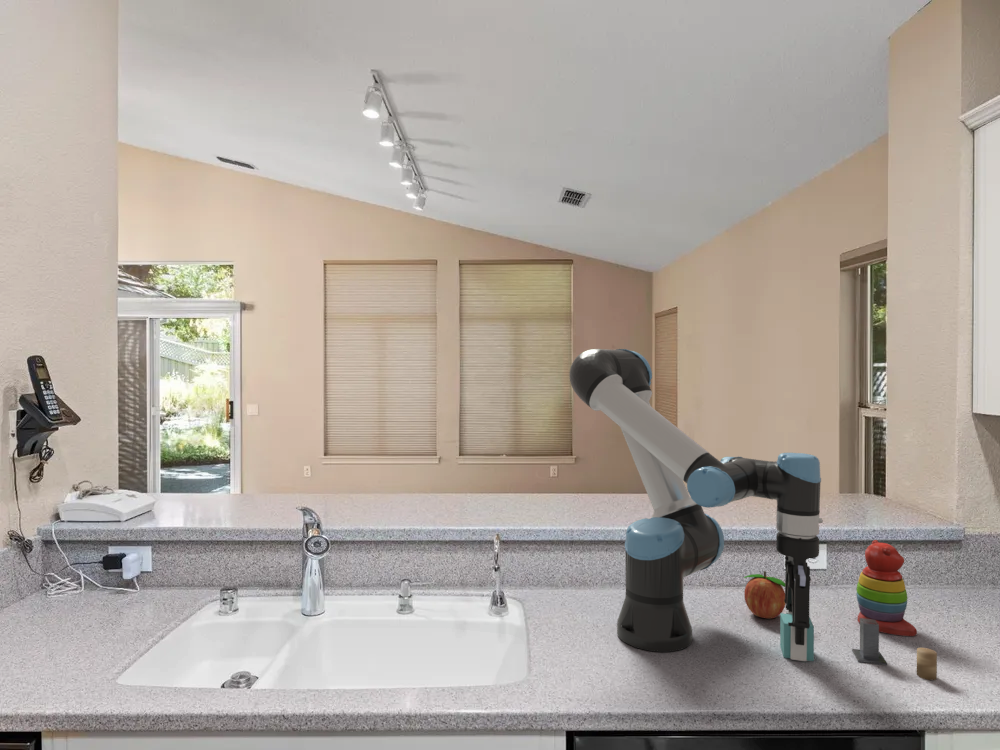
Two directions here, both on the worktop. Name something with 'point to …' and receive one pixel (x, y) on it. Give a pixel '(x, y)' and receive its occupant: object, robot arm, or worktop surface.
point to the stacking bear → (884, 590)
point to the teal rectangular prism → (786, 637)
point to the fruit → (765, 595)
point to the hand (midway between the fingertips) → (795, 651)
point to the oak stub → (927, 663)
